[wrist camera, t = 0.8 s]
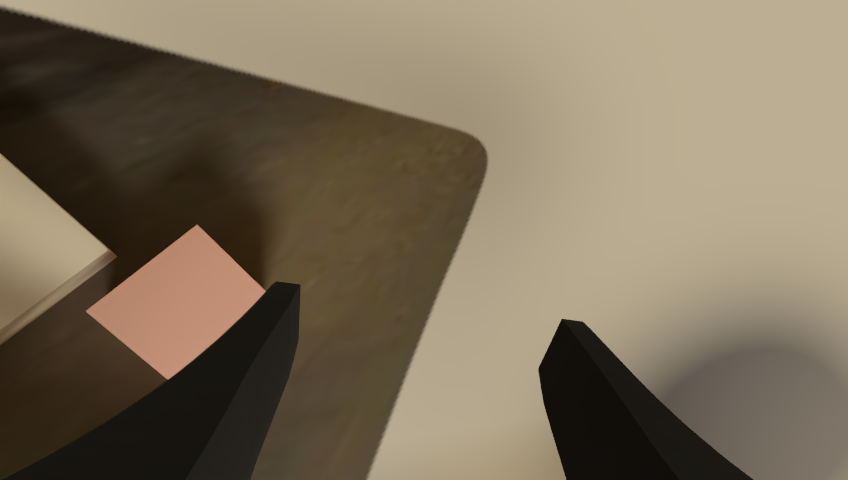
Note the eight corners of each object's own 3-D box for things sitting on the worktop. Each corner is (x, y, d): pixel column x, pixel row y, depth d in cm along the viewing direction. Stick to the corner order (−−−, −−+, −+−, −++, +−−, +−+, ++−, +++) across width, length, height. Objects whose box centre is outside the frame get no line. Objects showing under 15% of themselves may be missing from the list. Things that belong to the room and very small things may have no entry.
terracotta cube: (186, 378, 22) (188, 396, 17) (105, 309, 20) (85, 311, 16) (262, 305, 24) (280, 306, 19) (193, 239, 22) (197, 224, 18)
